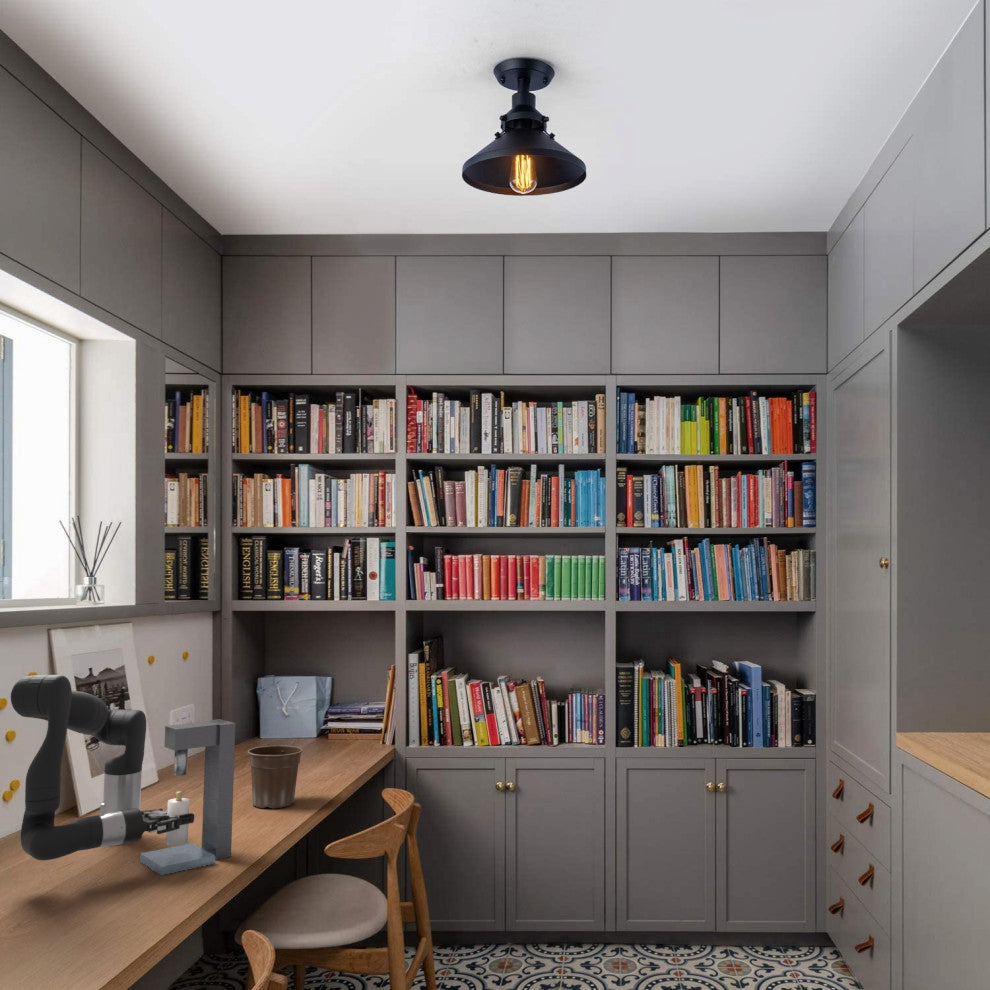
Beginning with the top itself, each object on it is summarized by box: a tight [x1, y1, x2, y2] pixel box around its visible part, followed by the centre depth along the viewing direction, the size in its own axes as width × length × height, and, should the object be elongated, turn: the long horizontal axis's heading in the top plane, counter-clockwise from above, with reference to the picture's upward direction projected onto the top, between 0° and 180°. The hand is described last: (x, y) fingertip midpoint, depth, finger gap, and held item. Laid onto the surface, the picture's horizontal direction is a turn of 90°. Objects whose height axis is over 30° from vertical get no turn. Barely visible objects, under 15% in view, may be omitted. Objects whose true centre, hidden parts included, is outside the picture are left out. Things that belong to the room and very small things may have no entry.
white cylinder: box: [165, 790, 191, 847], centre depth 222 cm, size 5×5×12 cm
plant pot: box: [247, 745, 304, 809], centre depth 277 cm, size 16×16×16 cm
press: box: [139, 718, 236, 876], centre depth 228 cm, size 18×22×32 cm
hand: (188, 815), depth 223 cm, fingers closed on white cylinder, 5 cm apart
